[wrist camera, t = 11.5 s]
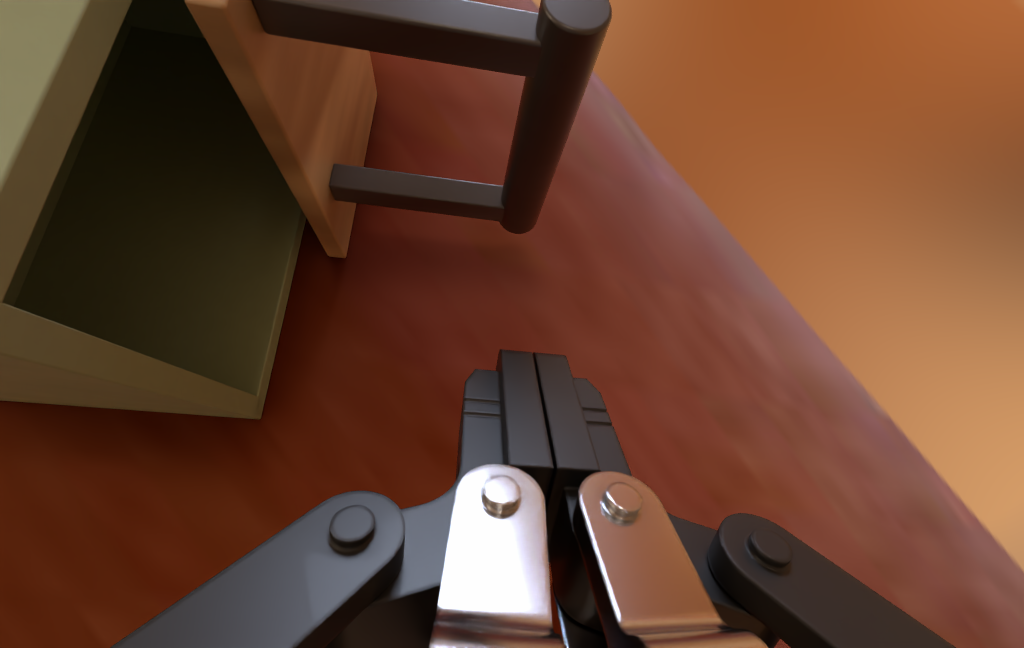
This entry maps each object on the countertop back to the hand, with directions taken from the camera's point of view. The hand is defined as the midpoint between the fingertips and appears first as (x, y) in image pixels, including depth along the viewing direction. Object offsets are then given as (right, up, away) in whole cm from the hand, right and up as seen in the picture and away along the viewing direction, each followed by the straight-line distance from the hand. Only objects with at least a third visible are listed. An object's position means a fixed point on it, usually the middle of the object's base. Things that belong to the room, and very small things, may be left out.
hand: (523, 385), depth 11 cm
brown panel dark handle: (-4, +8, +11) cm, 14 cm away
